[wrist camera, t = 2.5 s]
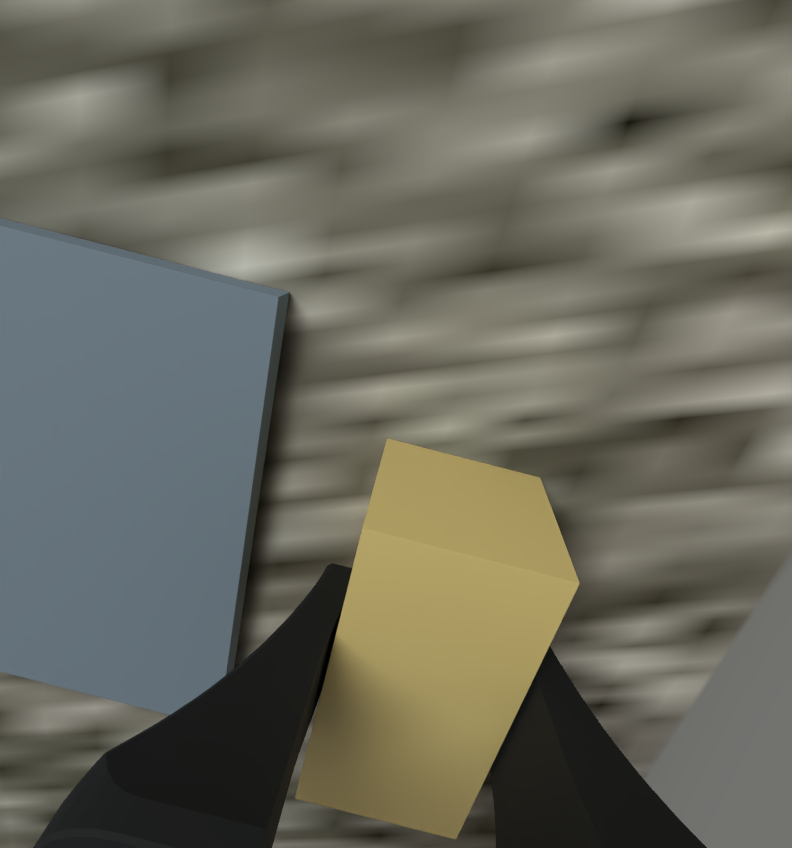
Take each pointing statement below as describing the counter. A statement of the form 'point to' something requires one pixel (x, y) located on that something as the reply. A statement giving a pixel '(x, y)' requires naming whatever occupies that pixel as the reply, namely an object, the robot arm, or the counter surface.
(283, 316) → the mat
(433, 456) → the yellow rectangular block
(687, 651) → the counter surface
